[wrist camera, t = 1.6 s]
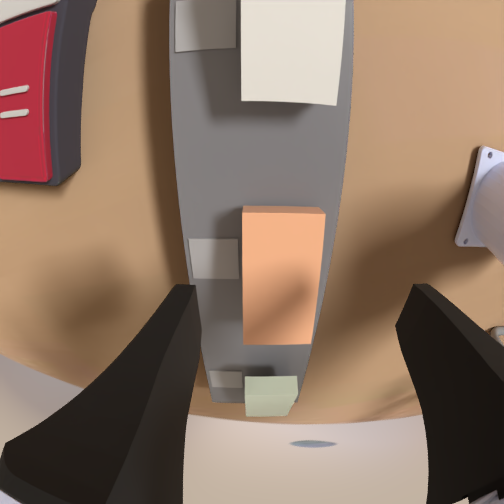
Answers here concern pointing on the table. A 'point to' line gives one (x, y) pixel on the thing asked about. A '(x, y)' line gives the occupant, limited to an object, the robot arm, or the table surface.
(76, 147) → the calculator
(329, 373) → the table surface
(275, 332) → the rocker middle
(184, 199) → the power strip
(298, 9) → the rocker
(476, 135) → the table surface
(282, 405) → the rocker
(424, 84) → the table surface
